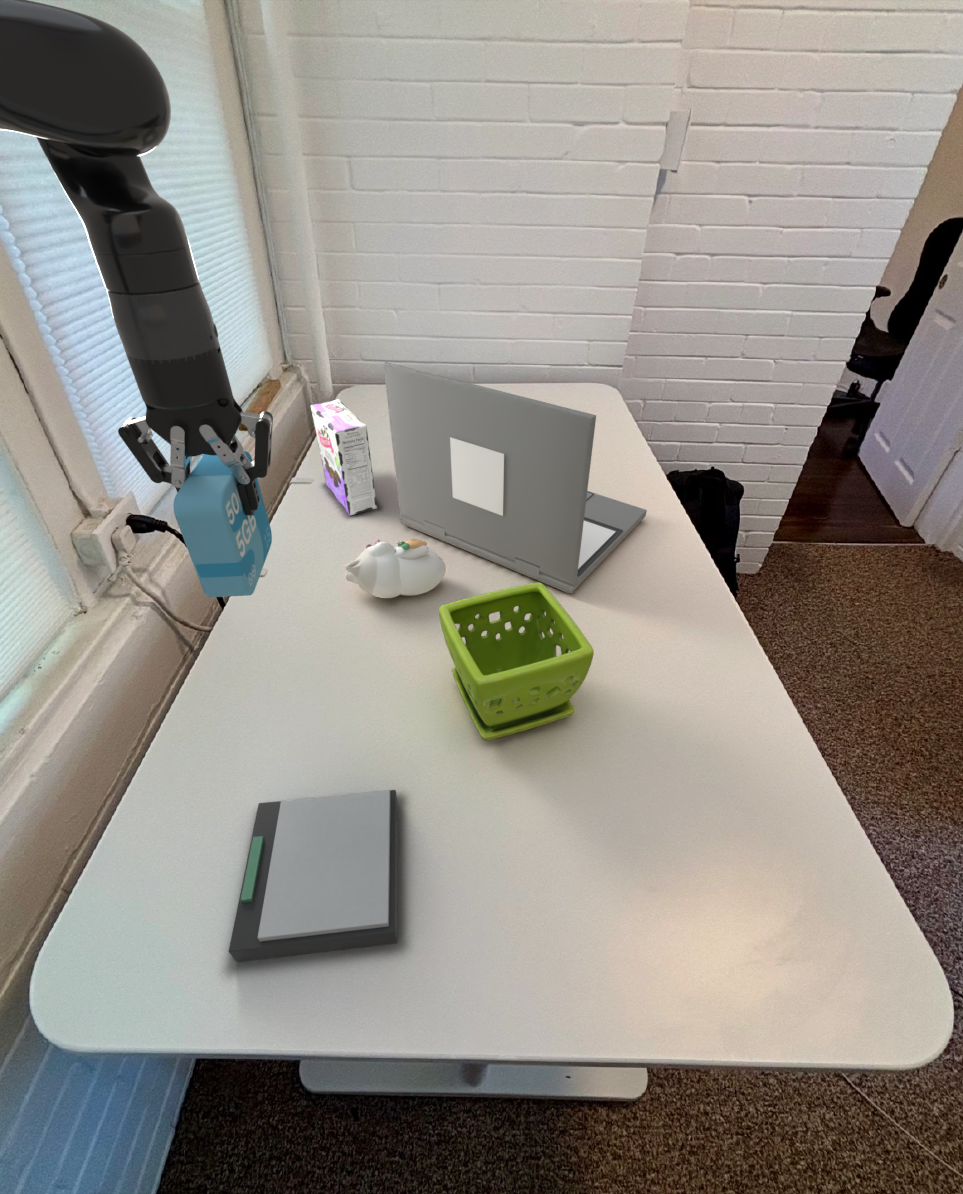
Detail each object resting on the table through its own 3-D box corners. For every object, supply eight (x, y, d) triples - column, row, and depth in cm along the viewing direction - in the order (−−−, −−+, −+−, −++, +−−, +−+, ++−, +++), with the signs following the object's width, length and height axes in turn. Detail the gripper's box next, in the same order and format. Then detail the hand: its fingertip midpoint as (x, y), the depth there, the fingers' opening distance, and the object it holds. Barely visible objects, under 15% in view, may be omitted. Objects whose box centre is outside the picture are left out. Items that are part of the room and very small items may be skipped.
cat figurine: (447, 529, 87) (343, 532, 83) (454, 579, 84) (346, 584, 81) (438, 555, 96) (343, 559, 92) (444, 602, 93) (346, 608, 90)
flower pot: (586, 726, 71) (599, 651, 63) (477, 762, 67) (475, 686, 59) (537, 649, 81) (542, 576, 73) (440, 676, 77) (434, 602, 69)
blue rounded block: (251, 601, 62) (219, 501, 54) (207, 603, 62) (168, 503, 54) (274, 538, 71) (249, 445, 64) (236, 540, 71) (206, 446, 63)
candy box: (325, 485, 117) (308, 403, 107) (353, 477, 119) (340, 397, 109) (349, 517, 108) (333, 431, 97) (379, 508, 110) (367, 424, 99)
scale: (235, 962, 51) (225, 948, 49) (264, 815, 62) (256, 798, 60) (397, 943, 52) (393, 928, 50) (397, 801, 63) (394, 784, 61)
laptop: (644, 522, 105) (676, 359, 87) (571, 599, 89) (591, 418, 71) (486, 470, 121) (485, 323, 103) (399, 527, 105) (380, 364, 87)
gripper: (66, 359, 47) (142, 537, 58) (249, 353, 49) (290, 528, 60) (101, 333, 53) (164, 499, 64) (263, 328, 55) (299, 491, 65)
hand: (225, 512), depth 62 cm, fingers closed on blue rounded block, 4 cm apart
